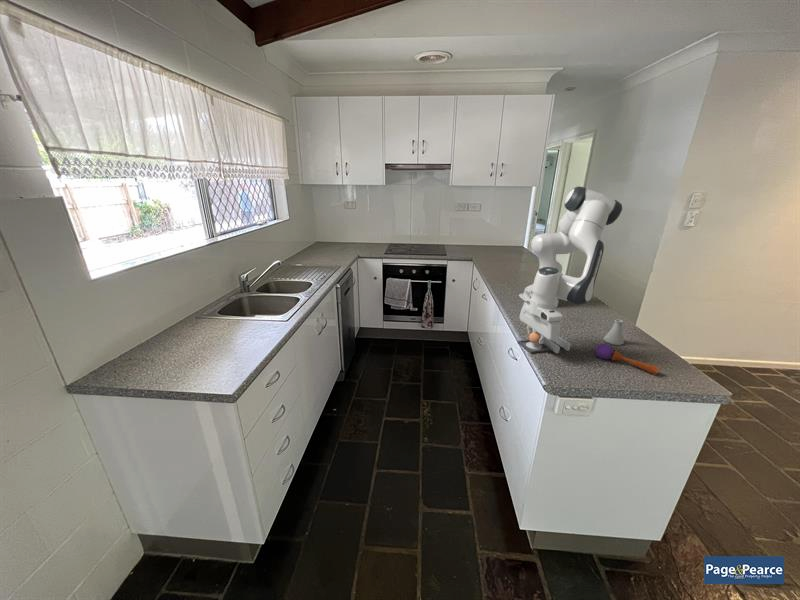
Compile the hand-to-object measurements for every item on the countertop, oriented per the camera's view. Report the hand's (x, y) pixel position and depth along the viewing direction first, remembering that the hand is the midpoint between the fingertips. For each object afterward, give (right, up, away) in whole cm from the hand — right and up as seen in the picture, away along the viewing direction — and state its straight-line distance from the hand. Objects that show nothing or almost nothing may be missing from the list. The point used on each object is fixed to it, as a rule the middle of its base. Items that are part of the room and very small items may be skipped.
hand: (535, 339), depth 132 cm
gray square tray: (0, -3, +1) cm, 3 cm away
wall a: (+11, -1, +7) cm, 13 cm away
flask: (+37, -2, +7) cm, 37 cm away
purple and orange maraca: (+29, -9, -10) cm, 32 cm away
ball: (0, -2, +1) cm, 2 cm away
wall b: (+5, -2, +5) cm, 7 cm away
